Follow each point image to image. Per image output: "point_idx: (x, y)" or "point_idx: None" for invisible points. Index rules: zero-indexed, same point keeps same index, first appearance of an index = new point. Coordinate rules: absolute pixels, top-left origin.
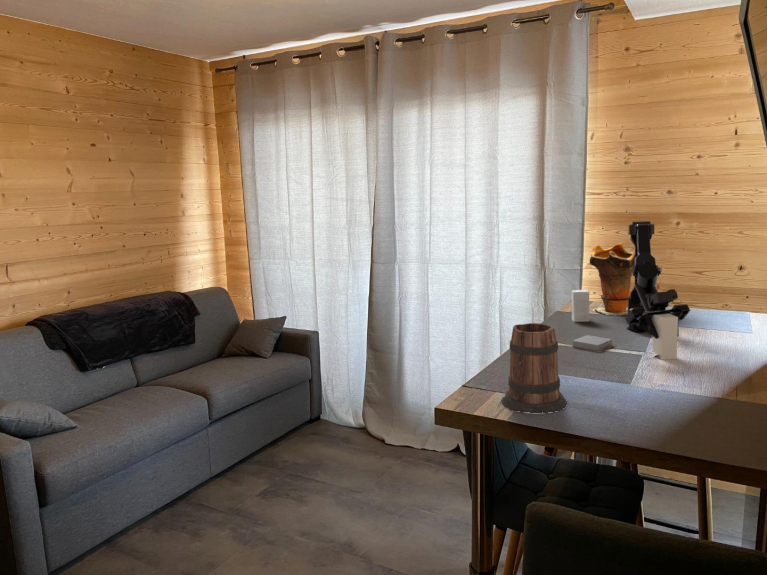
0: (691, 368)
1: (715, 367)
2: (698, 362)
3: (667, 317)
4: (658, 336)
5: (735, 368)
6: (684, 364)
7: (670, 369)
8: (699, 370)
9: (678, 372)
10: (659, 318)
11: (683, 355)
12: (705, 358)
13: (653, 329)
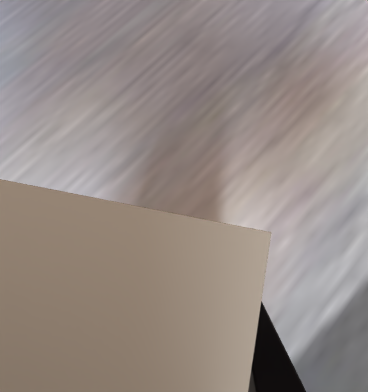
0: (189, 86)
1: (86, 57)
2: (87, 142)
3: (103, 244)
4: None
5: (30, 18)
6: (170, 145)
7: (289, 113)
8: (180, 52)
9: (285, 66)
10: (244, 364)
11: None
12: (5, 177)
13: (285, 365)
